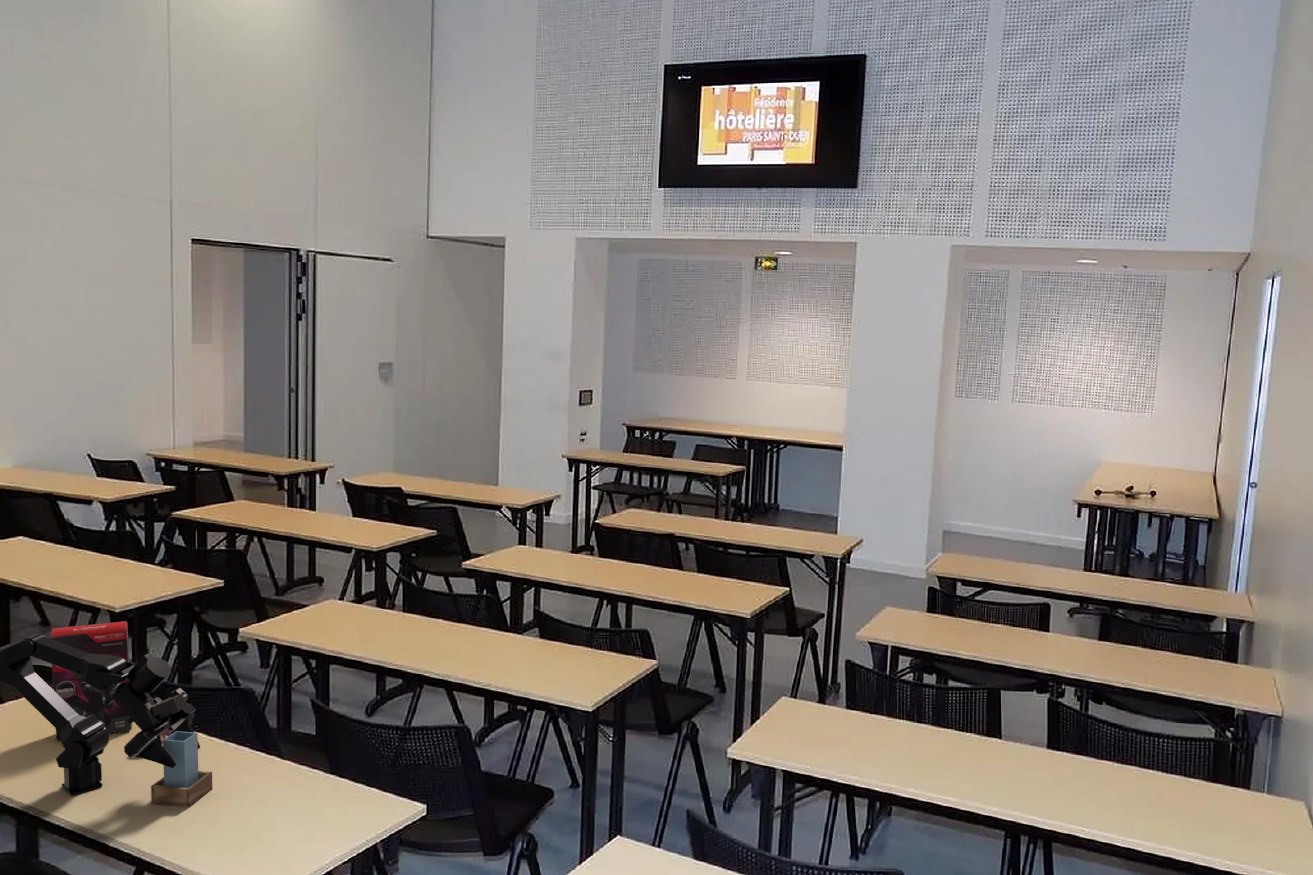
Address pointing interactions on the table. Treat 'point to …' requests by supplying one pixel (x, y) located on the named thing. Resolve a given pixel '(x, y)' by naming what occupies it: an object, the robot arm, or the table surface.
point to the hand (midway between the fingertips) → (186, 757)
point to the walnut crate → (181, 791)
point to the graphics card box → (72, 685)
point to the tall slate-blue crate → (182, 759)
